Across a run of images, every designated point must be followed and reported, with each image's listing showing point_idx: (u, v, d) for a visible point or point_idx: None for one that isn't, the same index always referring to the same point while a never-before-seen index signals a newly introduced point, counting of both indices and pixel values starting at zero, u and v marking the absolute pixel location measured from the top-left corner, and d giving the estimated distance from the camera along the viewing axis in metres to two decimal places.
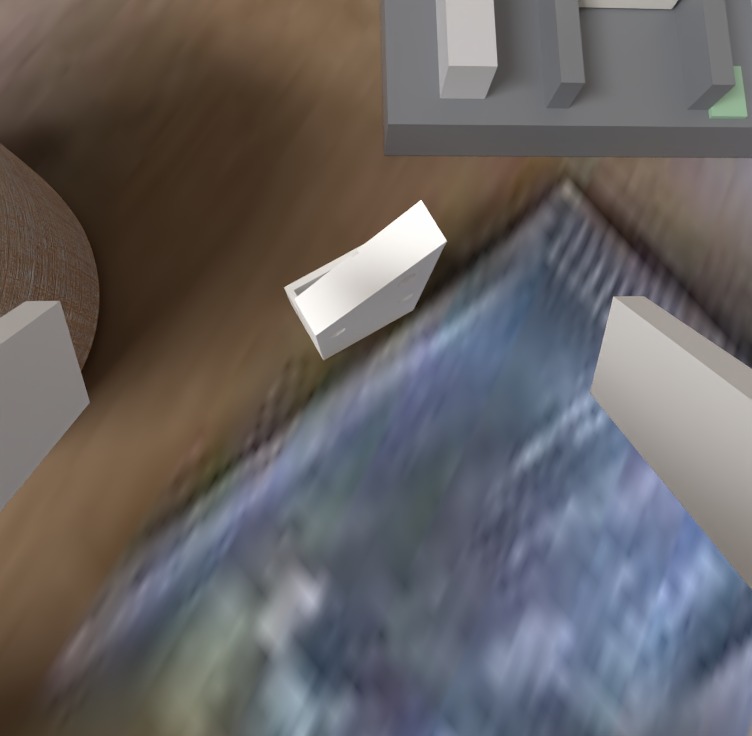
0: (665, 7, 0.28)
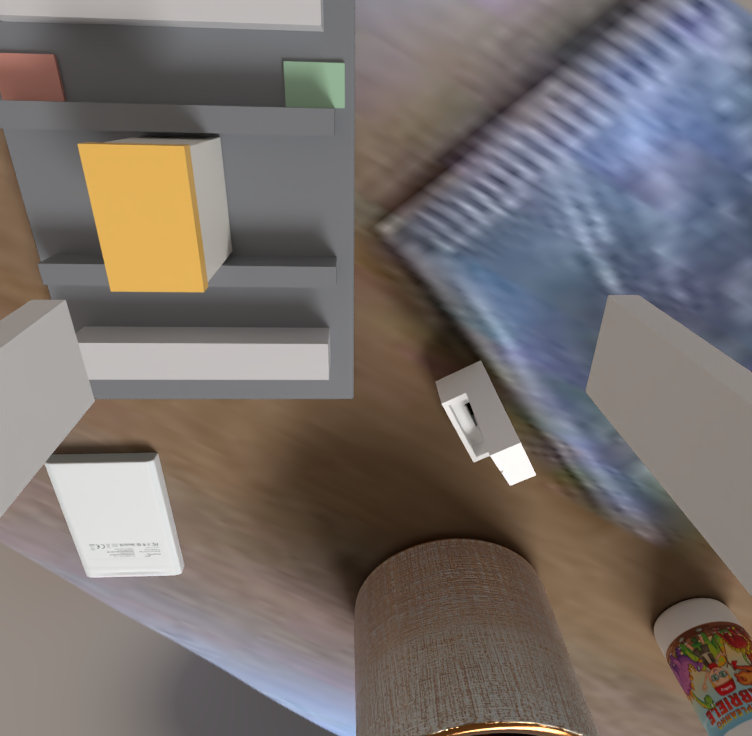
0: (220, 146, 0.27)
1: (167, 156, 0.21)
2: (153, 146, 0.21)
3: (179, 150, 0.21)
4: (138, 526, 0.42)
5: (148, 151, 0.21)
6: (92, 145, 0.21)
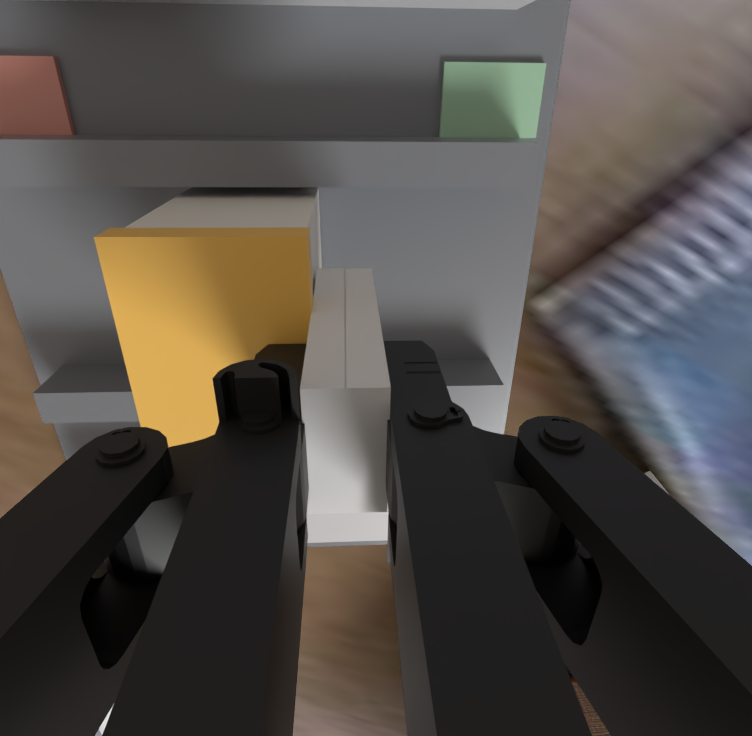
0: None
1: (274, 257, 0.11)
2: (246, 238, 0.10)
3: (297, 244, 0.10)
4: None
5: (236, 247, 0.10)
6: (124, 239, 0.10)
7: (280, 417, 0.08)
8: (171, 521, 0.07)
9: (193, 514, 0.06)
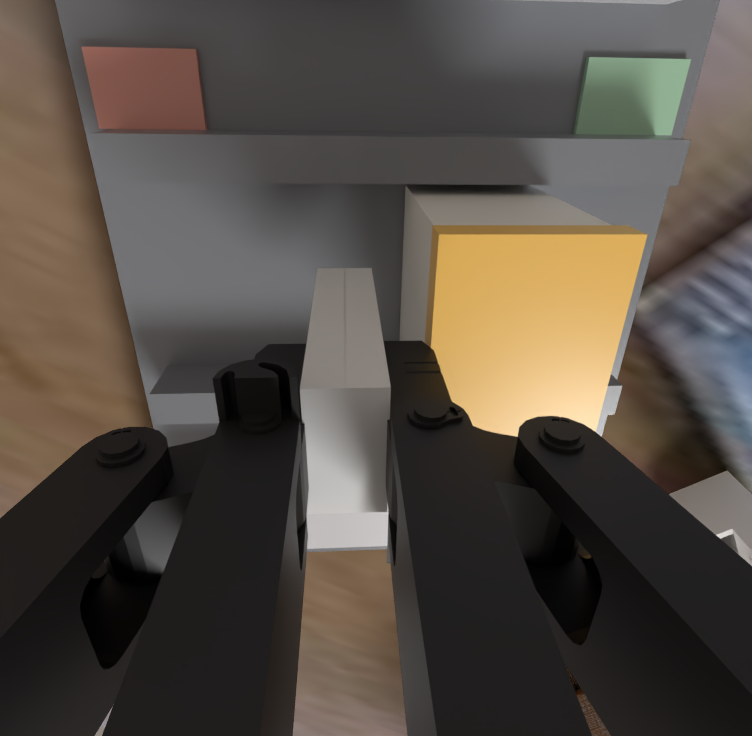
0: None
1: (608, 255, 0.10)
2: (588, 236, 0.10)
3: (636, 242, 0.10)
4: None
5: (575, 245, 0.10)
6: (468, 237, 0.10)
7: (280, 417, 0.08)
8: (171, 521, 0.07)
9: (193, 514, 0.06)
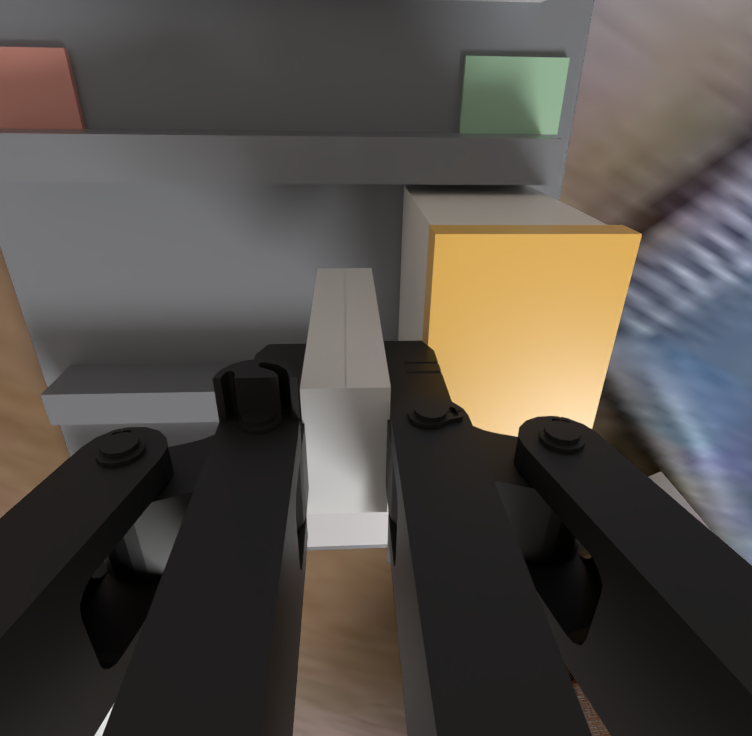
0: None
1: (603, 254, 0.11)
2: (583, 236, 0.10)
3: (630, 242, 0.10)
4: None
5: (570, 245, 0.10)
6: (464, 236, 0.10)
7: (280, 417, 0.08)
8: (171, 521, 0.07)
9: (193, 514, 0.06)
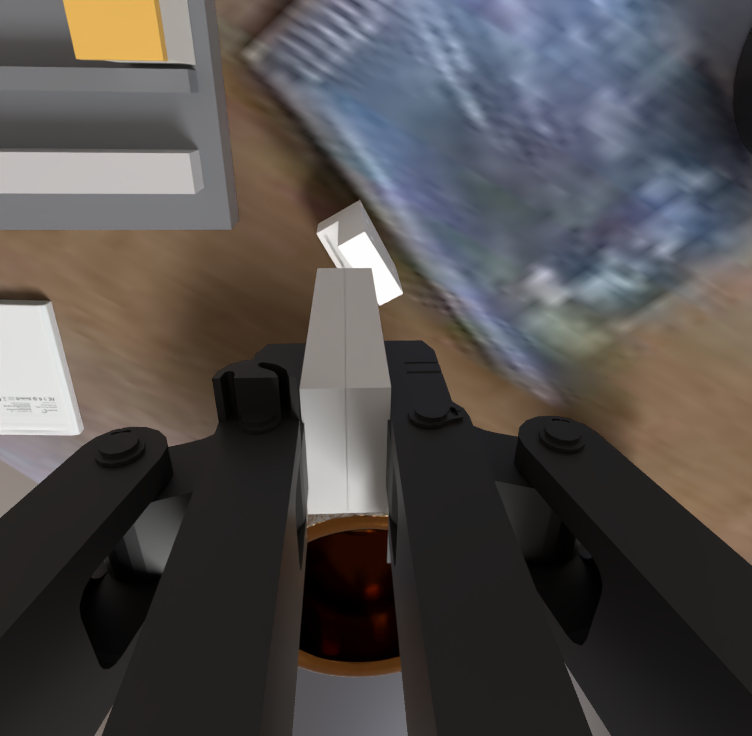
0: None
1: None
2: None
3: None
4: (33, 377, 0.43)
5: None
6: None
7: (280, 417, 0.08)
8: (171, 521, 0.07)
9: (193, 514, 0.06)
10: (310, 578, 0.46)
